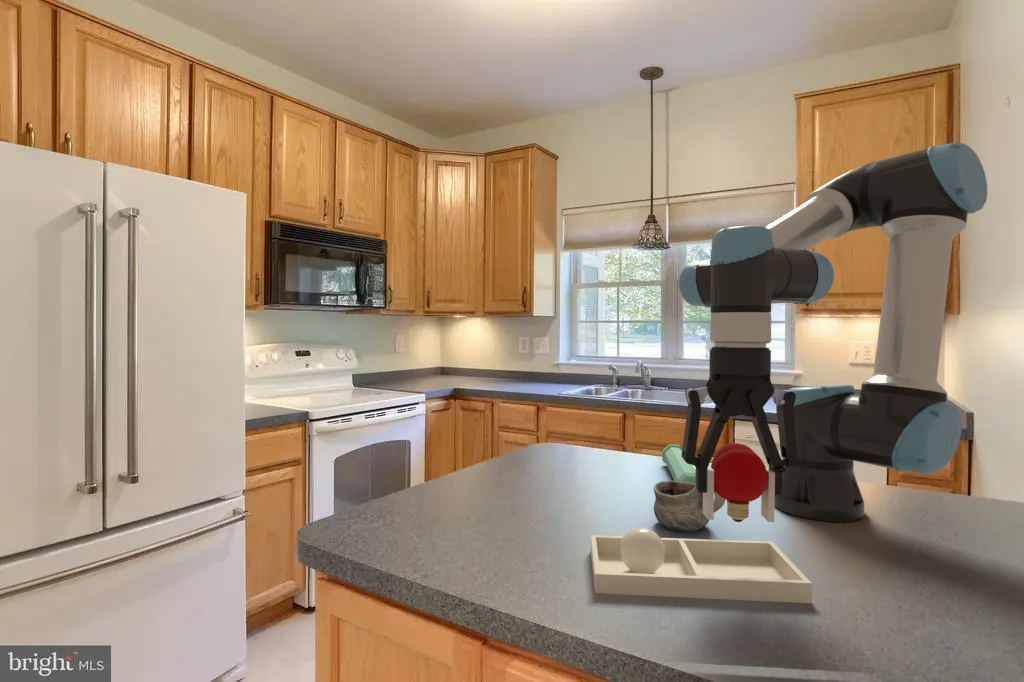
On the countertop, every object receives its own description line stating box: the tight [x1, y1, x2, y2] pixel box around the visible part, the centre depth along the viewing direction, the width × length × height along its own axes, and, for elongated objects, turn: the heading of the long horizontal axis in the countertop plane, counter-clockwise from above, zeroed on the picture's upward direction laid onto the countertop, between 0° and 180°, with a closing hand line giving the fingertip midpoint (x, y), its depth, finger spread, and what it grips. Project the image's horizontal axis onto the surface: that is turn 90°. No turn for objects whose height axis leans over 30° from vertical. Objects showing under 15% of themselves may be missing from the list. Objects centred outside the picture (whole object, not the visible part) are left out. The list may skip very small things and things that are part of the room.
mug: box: [653, 480, 726, 533], centre depth 92 cm, size 10×12×10 cm
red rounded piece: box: [710, 442, 768, 523], centre depth 73 cm, size 9×7×10 cm
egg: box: [620, 526, 665, 574], centre depth 75 cm, size 6×6×6 cm
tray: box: [590, 534, 813, 604], centre depth 74 cm, size 26×13×3 cm, turn 84°
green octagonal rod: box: [662, 444, 696, 484], centre depth 123 cm, size 6×6×25 cm
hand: (737, 517), depth 73 cm, fingers closed on red rounded piece, 7 cm apart
